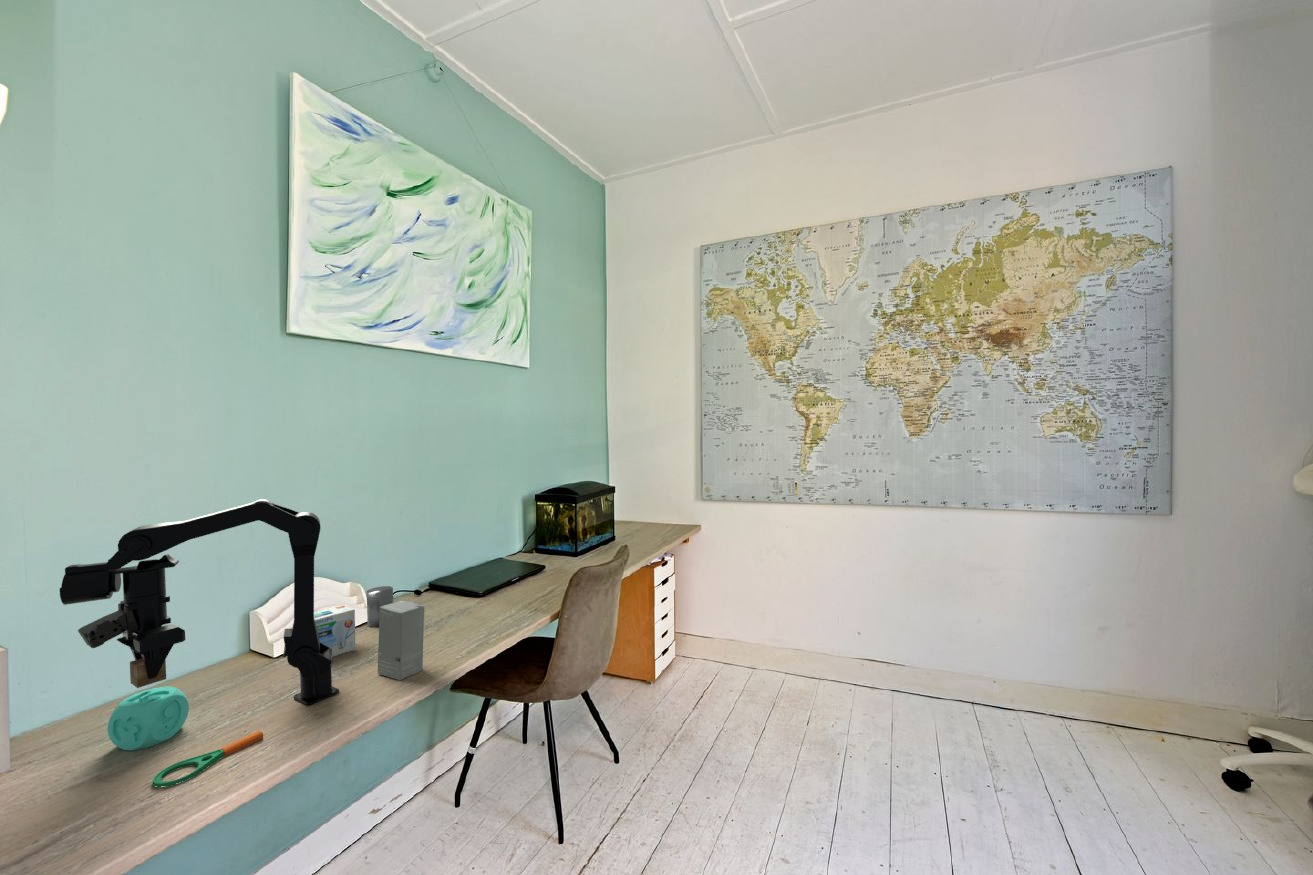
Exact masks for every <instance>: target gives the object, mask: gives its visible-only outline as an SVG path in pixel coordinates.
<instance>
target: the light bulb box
mask: <svg viewBox="0 0 1313 875" xmlns="http://www.w3.org/2000/svg"><path fill="white" fill-rule="evenodd" d="M355 611H356V610H355V609H354V608H352V607H350V606H348V605H346V604H343V605H338V606H335V607H331V608H330V607H329V608H326V609H323V610H319V611H314V619H315V623H316V627H317V631H318V636H319V642H321V643H323V644H324V645H326V646H328V647H329V648H330V649H331V658H332V657H336V656H339V654H340V655H342V653H343V654H346V653H348V652H352V651H355V650H356V618H355V617H356V612H355ZM345 652H346V653H345Z"/></svg>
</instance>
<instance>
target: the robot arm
mask: <svg viewBox="0 0 1313 875" xmlns="http://www.w3.org/2000/svg"><path fill="white" fill-rule="evenodd" d="M257 521H260V522H263V523H264V524H267V525H269V526H271V527H273V528H276V529H278V530H279V531H283V532H285V533H287V535H288V538H289V539H288V540H289V543H290V544H289V545H290V547H291V548H290V549H291V552H292V554H293V559H294V560H293V563H294V564H293V567H294V568H293V569H294V571H293V572H294V573H293V624H292V628H284V631H283V632H284V633H283V643H284V645H283V646H284V647H283V652H282V653H283V655H282V656H283V657H282V658H286V657H287V658H286V660H287V663H288V665H290V666H291V667H293V668H296V669H297V670H298V671H299V677H300V678H299V681H300V683H299V684H300V692H299V693H296V694H294V695H293V699H294V700H295V701H296V700H297V701H298V702H300V703H303V704H305V705H307V706H309V705H312V704H314V703H317V702H320V701H321V700H324V699H326V698H329V697H331V696H333V695H336V694H338V693H340V689H339V688H337V687H335V686H333V678H332V677H333V676H332V675H333V674H332V664H333V663H332V662H333V660H332V657H331V649H330V648H329V647H328V646H326V645H324V644H323V643H321V642H319V636H318V631H317V627H316V623H315V619H314V613H315V555H316V551H317V547H318V542H319V538H320V533H321V529H322V528H321V521H320V518H319V516H317V515H316V514H315V513H313V512H310V511H303V512H298V511H296V510H293V509H291V508H288V507H285V506H282V505H279V504H276V503H274V502H273V501H271V500H268V499H266V498H262V499H257V500H255V501H253V502H249V503H246V504H242V505H239V506H236V507H231V508H228V509H224V510H220V511H217V512H212V513H209V514H206V515H201V516H197V517H195V518H194V517H193V518H191V519H190V518H189V519H187V520H180V521H169V522H162V523H161V522H160V523H153V524H145V525H141V526H137V527H135V528H134V529H132V530H130V531H128V532H126V533H125V534H123V535H122V537H120V539H119V541H118V542H117V551H116V552H115V553H114V554H113V555H112V557H110V558H109V559H108V560H107V561H105V562H97V563H87V564H86V563H85V564H81V563H79V564H70V565H68V566H66V567H65V568H64V575H63V577H62V582H61V587H60V588H59V598H60V601H61V603H62V605H64V606H67V605H73V604H81V603H86V602H87V603H88V602H94V601H100V600H109V599H110V600H111V598H112V596H113V594H114V593H118V592H120V590H121V586H122V591H123V593H122V594H123V600H121V601H120V602H119V603H118V605H117V608H118V609H117V610H116V611H113V612H112V613H108V614H106V615H104V616H102V617H100V618H98V619H96V620H94V621H92V622H90V623H88V624H86V625H84V626H82V627H80V628H79V629H77V632H78V633H79V635H80V636H81V638H82V640H83V642H85V644H86V645H87V646H89V647H90V648H91V649H95V648H98V647H100V646H102V645H104V644H105V643H106V642H108V641H111V640H112V639H113V638H115V637H118V636H119V635H122V636H121V637H118V638H116V641H117V642H119V643H121V644H122V645H124V646H126V647H129V649H130V651H131V653H132V656H133V659H134V661H135V660H138V659H143V663H144V666H145V670H146V673H147V676H148V679H152V678H155V677H157V675H158V673H159V671H160V669H161V667H162V665H163V663H164V661H165V659H167V658H168V656H169V654H170V652H171V650H172V648H173V647H174V645H176V644H179V643H183V642H185V641H186V630H185V629H183V628H181V627H180V626H177V625H175V624H173V623H172V618H171V617H170V616H168V612H167V610H168V609H167V603H170V602H171V596H170V595H169V594H168V595H167V588H166V586H167V584H166V569H169V568H175V567H176V565H178V564H179V563H180V560H179V559H177V558H174V557H172V556H171V555H170V554H169V553H165V554H163V555H162V556H161V558H154V559H149V558H152V557H154V556H156V555H159V554H161V553H163V552H166V551H168V550H171V549H172V548H174V547H176V546H179V545H181V544H183V543H186V542H187V541H190V540H193V539H197V538H200V537H204V536H207V535H212V534H215V533H219V532H222V531H225V530H228V529H229V530H230V529H232V528H236V527H239V526H243V525H246V524H249V523H250V524H251V523H253V522H257ZM134 561H135V562H136V561H137V562H138V564H137V565H134V566H133V565H132V566H128V567H127V566H126V565H128V564H129V563H131V562H134ZM125 566H126V567H125ZM121 575H122V576H121Z"/></svg>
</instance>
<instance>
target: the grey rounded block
mask: <svg viewBox="0 0 1313 875" xmlns="http://www.w3.org/2000/svg"><path fill="white" fill-rule="evenodd" d="M392 603H394V587H393V586H390V585H387V586H386V585H385V586H376V587H372V588H369V589H367V590H366V613H367V614H366V617H367V619H366V620H367V621H366V622H367V627H369V628H379V618H380V607H382V606H384V605H388V604H392Z"/></svg>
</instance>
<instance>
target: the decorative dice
mask: <svg viewBox="0 0 1313 875" xmlns="http://www.w3.org/2000/svg"><path fill="white" fill-rule="evenodd" d="M189 705H190V704H189V701H188V697H187V696H186V694H184V692H183V691H182V690H181V689H179V688H177V687H175V686H160V687H154V688H150V689H146V690H143V691H140V692H136V693H135V694H132V695H129V696H128V697H126V698H124V699H123V700H121V701H120V703H119V704H118V705H117V706H116V707H115V708H114V710H113V711H112V713H111V714H110V717H109V719H108V723H107V735H108V737H109V740H110V742H112V744H113V745H114V746H115V747H117V748H118V749H121V750H124V751H137V750H143V749H147V748H150V747H153V746H156V745H159V744H161V743H163V742H165V741H167V740H169V739H171V738H172V737H174V736H175V735H176V734H177V733H178V731H179V730H180V729H182V727H183V726H184V724H185V723H186V720H187V718H188V716H189V707H190V706H189Z"/></svg>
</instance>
